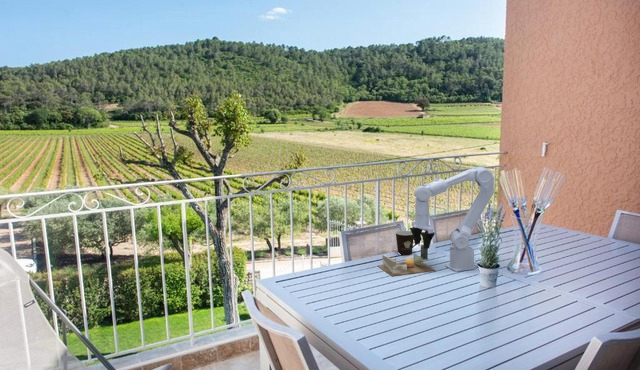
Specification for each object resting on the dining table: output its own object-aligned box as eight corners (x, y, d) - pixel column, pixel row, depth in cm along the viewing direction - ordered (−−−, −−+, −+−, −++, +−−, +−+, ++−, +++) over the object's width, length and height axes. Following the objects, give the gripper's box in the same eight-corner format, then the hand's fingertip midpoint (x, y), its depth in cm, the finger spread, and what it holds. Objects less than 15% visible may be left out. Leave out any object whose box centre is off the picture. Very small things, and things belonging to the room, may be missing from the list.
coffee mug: (394, 255, 223) (394, 234, 221) (396, 250, 231) (397, 230, 229) (419, 257, 219) (420, 236, 218) (421, 252, 227) (421, 231, 226)
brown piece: (418, 261, 213) (419, 249, 213) (435, 270, 200) (435, 258, 199) (377, 266, 207) (377, 254, 207) (392, 276, 194) (392, 263, 193)
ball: (411, 265, 207) (411, 256, 206) (415, 268, 203) (415, 258, 202) (402, 266, 206) (403, 257, 205) (407, 269, 202) (407, 259, 201)
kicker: (423, 261, 209) (423, 243, 208) (430, 265, 204) (431, 247, 203) (413, 262, 208) (413, 244, 207) (420, 266, 202) (420, 248, 201)
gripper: (405, 212, 207) (405, 242, 209) (422, 219, 194) (422, 251, 196) (419, 210, 209) (419, 241, 211) (437, 217, 196) (437, 249, 198)
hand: (421, 246), depth 204 cm, fingers open, 7 cm apart
